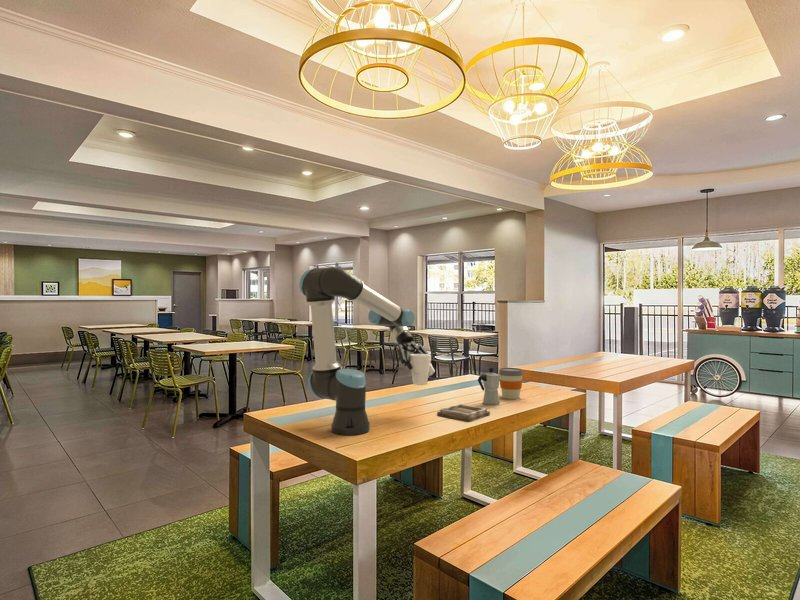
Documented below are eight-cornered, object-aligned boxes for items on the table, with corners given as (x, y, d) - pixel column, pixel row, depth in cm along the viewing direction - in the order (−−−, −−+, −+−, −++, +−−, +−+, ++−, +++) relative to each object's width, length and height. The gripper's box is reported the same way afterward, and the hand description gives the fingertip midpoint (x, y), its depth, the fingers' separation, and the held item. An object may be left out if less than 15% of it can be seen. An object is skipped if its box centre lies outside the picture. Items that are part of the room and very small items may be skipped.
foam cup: (405, 384, 203) (406, 355, 203) (414, 381, 211) (415, 353, 211) (425, 386, 198) (425, 356, 199) (433, 383, 207) (434, 354, 207)
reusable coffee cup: (494, 396, 246) (494, 369, 247) (507, 393, 255) (507, 367, 255) (514, 400, 237) (514, 371, 237) (527, 397, 246) (527, 369, 246)
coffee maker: (494, 400, 237) (494, 365, 238) (506, 403, 230) (506, 367, 230) (472, 403, 230) (472, 367, 230) (484, 406, 222) (484, 369, 222)
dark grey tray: (469, 421, 194) (469, 415, 194) (437, 415, 205) (437, 409, 205) (489, 414, 206) (490, 408, 206) (458, 409, 218) (458, 403, 218)
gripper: (417, 340, 224) (438, 377, 211) (380, 342, 210) (401, 381, 198) (424, 330, 220) (446, 366, 207) (387, 331, 206) (409, 370, 194)
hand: (424, 373), depth 202 cm, fingers closed on foam cup, 9 cm apart
